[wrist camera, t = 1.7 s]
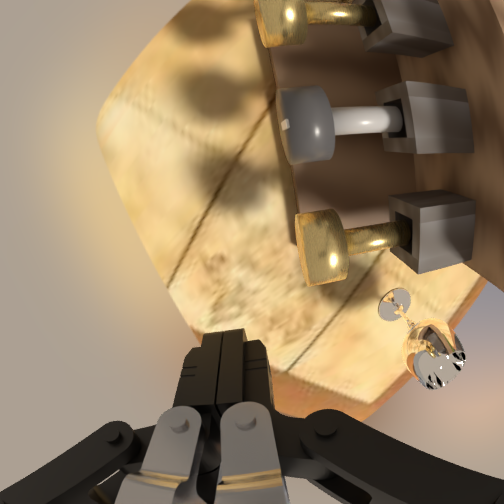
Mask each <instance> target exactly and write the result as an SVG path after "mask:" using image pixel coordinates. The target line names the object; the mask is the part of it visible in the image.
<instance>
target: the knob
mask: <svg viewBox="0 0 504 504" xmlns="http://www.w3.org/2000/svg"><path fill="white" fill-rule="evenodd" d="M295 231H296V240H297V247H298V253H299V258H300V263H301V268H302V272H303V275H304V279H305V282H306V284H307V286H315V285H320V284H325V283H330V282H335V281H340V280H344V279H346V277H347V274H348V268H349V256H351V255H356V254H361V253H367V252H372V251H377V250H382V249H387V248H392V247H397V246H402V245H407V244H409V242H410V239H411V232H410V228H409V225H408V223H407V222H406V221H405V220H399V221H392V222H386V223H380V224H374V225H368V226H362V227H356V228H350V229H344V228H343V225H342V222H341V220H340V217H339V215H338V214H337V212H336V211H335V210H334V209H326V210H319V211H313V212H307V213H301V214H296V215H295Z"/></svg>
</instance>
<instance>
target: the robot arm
mask: <svg viewBox="0 0 504 504" xmlns="http://www.w3.org/2000/svg"><path fill="white" fill-rule="evenodd" d="M180 376H181V378H180V379H179V383H178V387H177V391H176V395H175V399H174V403H173V407H172V408H171V409H169V410H167V411H165V412H164V413H163V414H162V415H161V416H160V418H159V420H158V421H157V424H156V425H153V426H149V427H145V428H141V429H137V430H133V429H132V428H131V427H130V425H128V424H127V423H125V422H122V421H113V422H109V423H107V424H105V425H104V426H102V427H101V428H99V429H98V430H97V431H95V432H94V433H92V434H91V435H89V436H88V437H86V438H85V439H84V440H82V441H81V442H79V443H78V444H76V445H75V446H73V447H72V448H70V449H69V450H67V451H66V452H64V453H63V454H61V455H60V456H58V457H57V458H55V459H54V460H52V461H51V462H49V463H47V464H46V465H44V466H43V467H41V468H39V469H38V470H36V471H35V472H33V473H31V474H30V475H28V476H27V477H25V478H23V479H22V480H20V481H18V482H17V483H15V484H13V485H11V486H10V487H8V488H6V489H4V490H3V491H1V492H0V504H290V500H289V495H288V490H287V486H286V481H285V476H288V477H295V478H304V479H307V480H308V481H309V482H310V483H312V484H313V485H315V486H317V487H318V488H319V489H321V490H323V491H324V492H325V493H327V494H328V495H330V496H331V497H333V498H335V499H336V500H338V501H340V502H341V503H343V504H504V480H502V479H499V478H495V477H492V476H489V475H485V474H482V473H479V472H476V471H473V470H470V469H467V468H464V467H461V466H459V465H456V464H453V463H450V462H448V461H445V460H443V459H440V458H437V457H435V456H433V455H430V454H428V453H425V452H423V451H421V450H418V449H416V448H414V447H411V446H409V445H407V444H405V443H403V442H400V441H398V440H396V439H394V438H392V437H390V436H388V435H386V434H384V433H381V432H379V431H377V430H375V429H373V428H371V427H369V426H367V425H366V424H363V423H362V422H360V421H358V420H356V419H354V418H352V417H350V416H348V415H347V414H345V413H343V412H341V411H338V410H333V409H324V410H319V411H316V412H313V413H312V414H310V415H308V416H307V417H306V418H305V419H304V418H293V417H288V416H285V415H282V414H280V413H279V412H277V411H276V410H275V405H274V396H273V386H272V376H271V371H270V366H269V361H268V356H267V351H266V347H265V346H264V345H263V343H262V342H261V341H260V340H252V341H247V337H246V333H245V330H244V328H242V329H235V330H228V331H221V332H213V333H205V334H204V335H203V339H202V344H201V347H196V348H192V349H191V351H190V352H189V353H188V354H187V355H186V357H185V359H184V363H183V369H182V371H181V375H180ZM117 470H120V471H119V472H117V473H116V474H114V475H113V476H111V477H110V478H109V479H107V480H106V481H104V482H103V483H102V484H100V485H97V484H99V483H100V482H102V481H103V480H104V479H106V478H107V477H109V476H110V475H112V474H113V473H114V472H116V471H117ZM96 485H97V486H96Z"/></svg>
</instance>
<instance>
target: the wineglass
mask: <svg viewBox="0 0 504 504" xmlns="http://www.w3.org/2000/svg"><path fill="white" fill-rule="evenodd" d="M410 303H411V296H410V294H409V292H408V291H407V290H405V289H402V288H398V289H394V290H392V291H390V292H389V293H388V294H386V295H385V297H384V298H383V299H382V301H381V303H380V305H379V315H380V317H381V318H382V319H383V320H385V321H395V320H397V319H399V318H401V317H403V319H404V320H405V322H406V324H407V327H408V329H409V331H408V333H407V334H406V336H405V338H404V340H403V343H402V350H401V353H402V358H403V361H404V363H405V366H406V367H407V369H408V370H409V372H410V373H411V374H412V375H413V376H414V377H415V378H416V379H417V380H418V381H419V382H420V383H421V384H422V385H423V386H424V387H426V388H427V389H429V390H436V389H439V388H441V387H443V386H445V385H447V384H448V383H449V382H450V381H452V380H453V379H454V378H455V377H456V376H457V375H458V373H459V372H460V371H461V370H462V368H463V366H464V364H465V361H466V353H465V351H464V348H463V346H462V344H461V342H460V340H459V339H458V337H457V335H456V333H455V332H454V331H453V329H452V328H451V327H450V326H449V325H448V324H447V323H445V322H444V321H442V320H440V319H436V318H429V319H424V320H422V321H420V322H418V323H417V324H416V323H415V322H414V321H412V320H410V319H409V318H408V317H407V316H406V315H405V313H406V312H407V310H408V308H409V306H410Z"/></svg>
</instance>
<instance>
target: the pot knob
mask: <svg viewBox="0 0 504 504" xmlns="http://www.w3.org/2000/svg"><path fill="white" fill-rule="evenodd" d="M276 110H277V118H278V125H279V131H280V136H281V140H282V145H283V149H284V152H285V156H286V158H287V161H288V163H289V164H290V165H293V164H300V163H307V162H315V161H323V160H330V159H331V158H332V156H333V153H334V148H335V135H347V134H361V133H382V132H399V131H401V129H402V126H403V118H402V114H401V112H400V110H399V109H398V108H397V107H396V106H357V107H335V108H331V106H330V103H329V100H328V98H327V96H326V94H325V92H324V90H323V89H322V88H321V87H320V86H318V85H316V86H302V87H291V88H282V89H277V90H276Z"/></svg>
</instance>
